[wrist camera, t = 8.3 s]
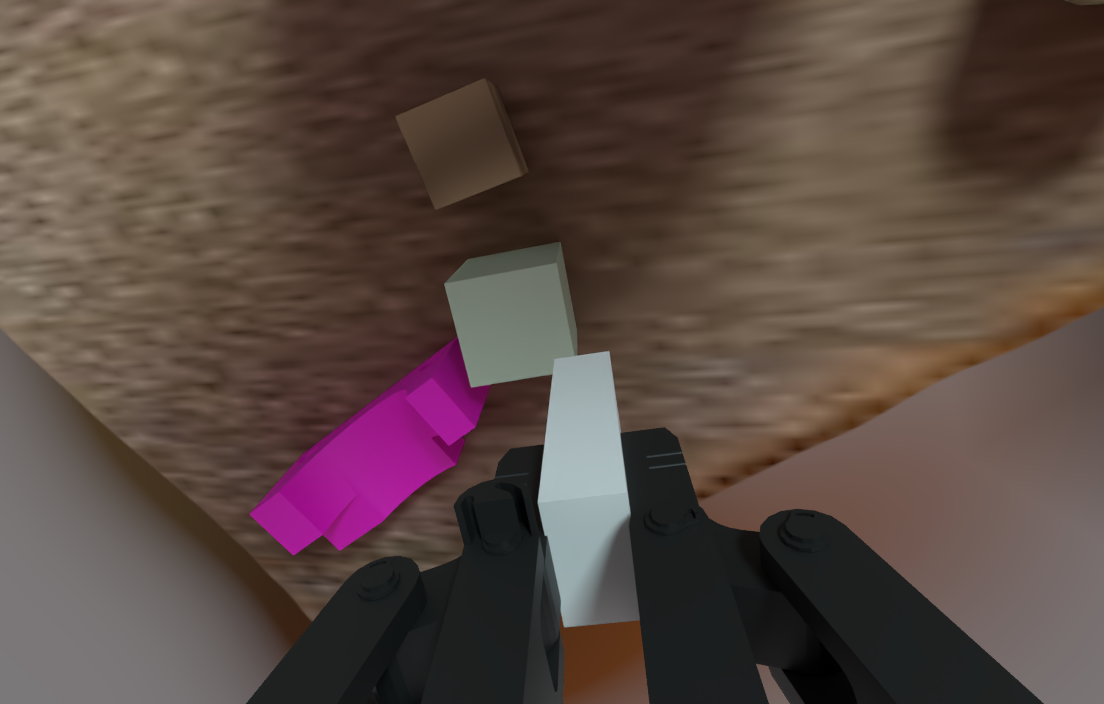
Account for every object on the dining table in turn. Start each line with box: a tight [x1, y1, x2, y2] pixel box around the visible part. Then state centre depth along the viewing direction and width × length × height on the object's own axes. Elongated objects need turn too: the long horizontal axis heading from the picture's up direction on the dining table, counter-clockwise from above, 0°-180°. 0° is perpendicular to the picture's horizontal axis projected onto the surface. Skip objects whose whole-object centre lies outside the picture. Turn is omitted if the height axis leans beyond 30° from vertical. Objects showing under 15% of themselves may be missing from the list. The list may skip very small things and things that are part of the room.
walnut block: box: [395, 78, 529, 210], centre depth 32 cm, size 5×5×5 cm
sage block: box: [444, 242, 577, 388], centre depth 34 cm, size 6×6×7 cm
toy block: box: [249, 337, 491, 555], centre depth 38 cm, size 15×6×8 cm, turn 128°
